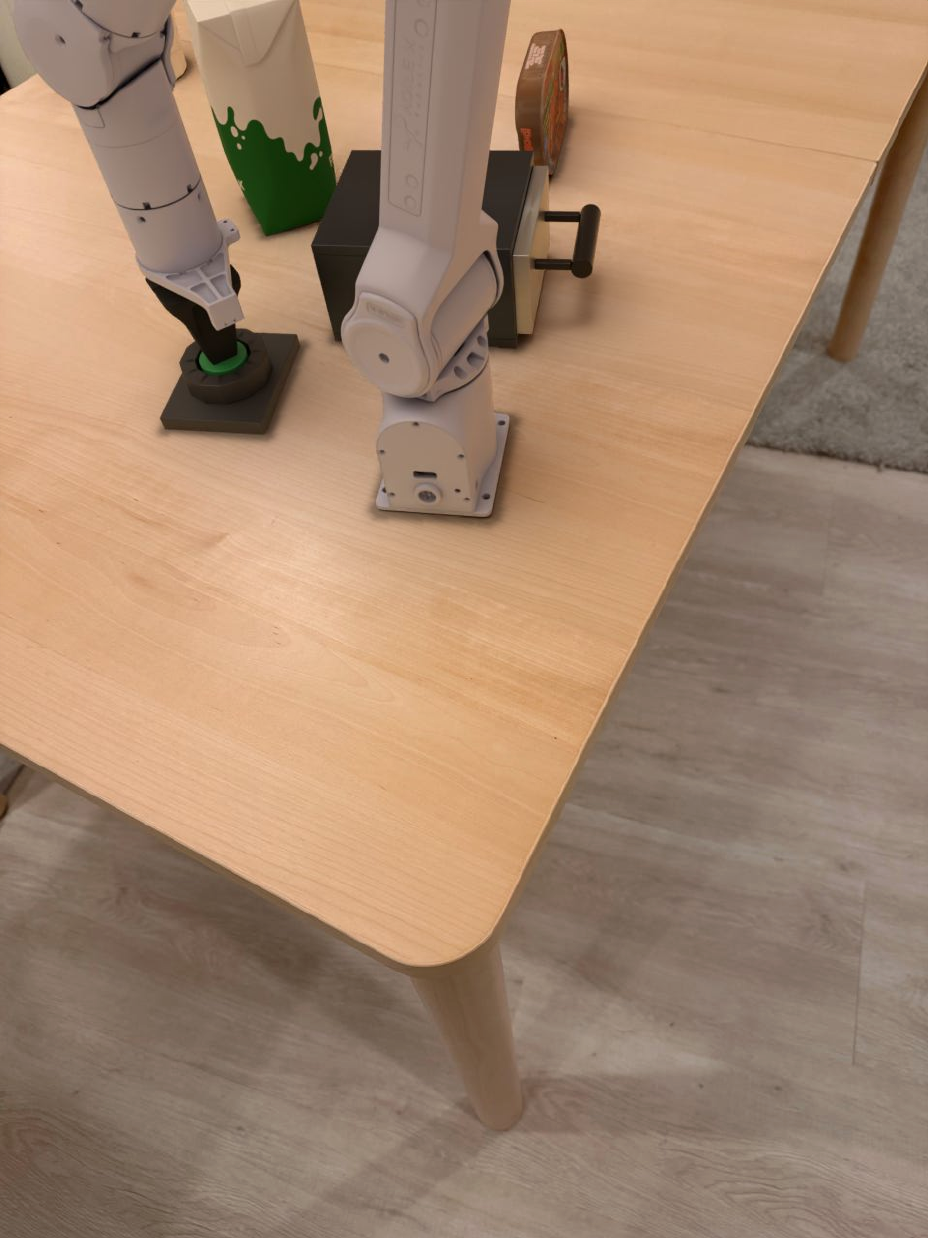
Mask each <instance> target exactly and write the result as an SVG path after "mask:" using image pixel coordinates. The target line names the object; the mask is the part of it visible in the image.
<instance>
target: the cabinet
mask: <svg viewBox="0 0 928 1238" xmlns="http://www.w3.org/2000/svg"><path fill="white" fill-rule="evenodd" d="M533 166H534V152H533V150H519V149H518V150H517V149H516V150H513V149H512V150H508V149H507V150H505V149H503V150H502V149H498V150H497V149H496V150H494V149H493V150H491V149H490V151H489V158H488V165H487V173H486V180H485V187H484V194H483V201H482V208H481V210H483V211H484V212H485V213H486V214H487V215H489V216H490V217H491V218H492V219H493V220H494V221H496V222H497V224H498V231H497V237H496V250H497V255H498V258H499V261H500V265H501V268H502V271H503V277H504V285H503V290H502V293H501V296H500V298H499V300H498V301H497V303H496V304H495V305H494V306H493V307H492V308H491V309H489V310H488V311H487V312H486V313H487V314H488V325H489V330H488V331H487V339H488V348H501V349H502V348H504V349H516V348H517V346H518V340H519V336H520V334H517V329H516V311H515V294H514V276H513V259H512V251H513V247H514V243H515V238H516V234H517V230H518V229H519V225H520V220H521V216H522V212H523V207H524V203H525V199H526V194H527V190H528V186H529V181H530V177H531V173H532V168H533ZM380 177H381V149H351V150H350V152H349V155H348V157H347V160H346V162H345V164H344V167H343V169H342V171H341V174H340V176H339V178H338V180H337V182H336V184H337V185H336V188H335V190H334V192H333V195H332V197H331V199H330V202H329V204H328V206H327V209H326V211H325V213H324V216H323V218H322V220H320V223H319V225H318V227H317V230H316V233H315V234H314V237H313V239H312V241H311V244H310V248H311V252H312V256H313V260H314V264H315V267H316V271H317V275H318V279H319V283H320V287H321V291H322V295H323V299H324V303H325V307H326V310H327V314H328V318H329V322H330V326H331V330H332V334H333V339H334V341H335V342H342V337H341V326H342V322H343V320H344V317H345V316H346V315H347V313H348V312H349V311H350V310H351V309H352V307H353V305H354V301H355V284H356V280H357V278H358V275H359V273H360V270H361V268H362V266H363V263H364V261H365V259H366V256H367V254H368V252H369V249H370V247H371V245H372V243H373V240H374V238H375V235H376V233H377V230H378V228H379V211H380Z"/></svg>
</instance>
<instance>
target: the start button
mask: <svg viewBox="0 0 928 1238" xmlns="http://www.w3.org/2000/svg"><path fill="white" fill-rule="evenodd" d="M237 349H238V352H237V355H236V356H234V357H232V358H229V359H227V360H225V361H223V362H221V363H219V364H216V365H213V364H212V363H211V362H210V361H209V360H208V359H207V357H206V356H205V354H204V353H203V352H202V353H201V355H200V358H199V363H200V365H201V368H202V370H203V372H204V373H205V374H207V375H224V374H228V373H231V372H234V371H236V370H237V369H239V368H240V367H241V366H243V365H244V364H245V363H246V362H247V361H248V359H249V356H248V353H247V351H246V348H245V347H244V345H243V344H241V343H240V342H238V341H237Z"/></svg>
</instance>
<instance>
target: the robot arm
mask: <svg viewBox="0 0 928 1238" xmlns="http://www.w3.org/2000/svg"><path fill="white" fill-rule="evenodd" d="M177 1H178V0H13V5H14V6H13V17H12V18H13V25H14V30H15V34H16V37H17V40H18V43H19V45H20V47H21V49H22V51H23V53H24V55H25V57H26V59H27V60H28V62H29V63H30V65H31V66H32V68H33V69H34V70H35V72H36V73H37V75H38V76H39V77H40V78H41V79H42V81H43V82H44V83H45V84H46V85H47V86H48V87H49V88H50V89H51V90H53V92H55V94H57V95H59V96H60V97H61V98H63V100H64V99H65V101H67V102H69V103H70V104H71V108H72V109H73V112H74V114H75V116H76V119H77V121H78V123H79V125H80V128H81V130H82V132H83V135H84V137H85V139H86V141H87V144H88V146H89V148H90V150H91V153H92V155H93V157H94V160H95V162H96V164H97V167H98V169H99V171H100V174H101V176H102V178H103V181H104V183H105V185H106V188H107V190H108V192H109V194H110V197H111V198H112V201H113V204H114V206H115V208H116V210H117V212H118V215H119V217H120V220H121V222H122V224H123V227H124V229H125V231H126V233H127V236H128V238H129V241H130V243H131V245H132V247H133V250H134V252H135V257H134V258H135V262H136V264H137V266H138V268H139V271H140V273H141V274H142V275H143V277H145V279H144V280H145V282H146V284H147V285H148V287H149V288H150V290H151V291H152V292H153V294H155V297H156V298H157V299H158V301H159V302H160V304H161V305H162V306H163V308H164V309H165V310H166V311H167V312H168V313H169V314H170V315H172V317H174V318H175V319H177V320H178V321H179V322H181V323H182V325H184V327H185V328H186V329H187V331H188V332H189V334H190V336H191V337H192V339H193V340H194V341H195V342H196V343H197V345H198V346H199V348H200V349H201V350H202V352H203V353H204V354H205V356H206V357H207V359H208V360H209V361H210V362H211V363H212V364H213V365H216V364H219V363H221V362H223V361H225V360H227V359H229V358H232V357H234V356H236V355H237V352H238V349H237V335H236V328H237V324H236V323H238V322H241V321H243V320H245V315H244V312H243V309H242V307H241V303H240V301H239V298H238V297H239V294H240V291H241V288H242V280H241V276H240V274H239V272H238V270H236V268H235V267H234V266H233V265H232V264H231V263H230V262H231V261H230V253H229V252H230V251H229V248H230V246H231V245H233V244H235V243H237V242H239V241H240V239H241V234H240V230H239V228H238V227H237V225H235V223H234V222H233V221H232V220H231V219H229V218H223V219H221V220H218V221H217V218H216V214H215V212H214V209H213V206H212V203H211V200H210V197H209V194H208V191H207V189H206V185H205V183H204V180H203V179H204V178H203V177H202V174H201V171H200V169H199V165H198V163H197V159H196V157H195V154H194V151H193V148H192V145H191V142H190V139H189V136H188V133H187V130H186V127H185V124H184V121H183V119H182V115H181V112H180V109H179V106H178V104H177V101H176V98H175V95H174V90H175V89H174V88H175V87H176V83H175V82H177V81H178V78H177V79H176V76H175V73H174V70H173V66H172V63H171V58H170V53H171V48H172V45H173V41H174V26H173V20H172V16H171V10H172V9H173V8H174V7H175V5H176V2H177ZM511 2H512V0H385V2H384V3H385V9H384V41H383V44H384V45H383V72H382V73H383V75H382V77H383V78H382V110H381V111H382V112H381V113H382V114H381V142H380V143H381V144H380V145H381V146H380V150H381V177H380V211H379V228H378V230H377V233H376V235H375V238H374V240H373V243H372V245H371V247H370V249H369V252H368V254H367V256H366V259H365V261H364V263H363V266H362V268H361V270H360V273H359V275H358V278H357V280H356V284H355V301H354V305H353V307H352V309H351V310H350V311H349V312H348V313H347V315H346V316H345V317H344V320H343V322H342V326H341V337H342V341H341V342H342V345H343V347H344V351H345V353H346V355H347V357H348V358H349V360H350V363H351V364H352V365H353V367H354V369H355V370H356V371H357V372H358V373H359V375H361V376H362V378H364V379H365V380H366V381H367V382H368V383H370V384H371V385H372V386H374V387H375V388H376V389H379V390H380V393H381V402H382V406H381V407H382V410H381V417H380V423H379V427H378V431H377V433H376V438H375V451H376V456H377V460H378V463H379V469H380V472H381V476H382V479H381V482H380V485H379V488H378V492H377V495H376V499H375V505H376V508H377V509H378V510H380V511H381V510H383V511H395V512H407V513H408V512H409V513H424V514H437V515H449V516H450V515H451V516H466V517H481V518H486V517H489V516H490V515H491V514H492V512H493V506H494V503H495V497H496V492H497V487H498V484H499V483H498V482H499V478H500V477H499V476H500V472H501V467H502V463H503V457H504V452H505V448H506V443H507V437H508V433H509V429H510V423H511V419H510V416H509V414H507V413H500V412H495V406H494V395H493V393H494V392H493V385H492V383H493V382H492V372H491V361H490V360H491V359H490V351H489V347H488V339H487V331H488V330H489V325H488V314H487V313H486V312H487V311H488V310H489V309H491V308H492V307H493V306H494V305H495V304H496V303H497V301H498V300H499V298H500V296H501V293H502V290H503V285H504V277H503V271H502V268H501V265H500V261H499V258H498V255H497V250H496V237H497V231H498V224H497V222H496V221H494V220H493V219H492V218H491V217H490V216H489V215H487V214H486V213H485V212H484V211H483V210H481V208H482V201H483V194H484V187H485V180H486V173H487V165H488V158H489V151H490V150H491V143H492V138H493V137H492V135H493V129H494V122H495V115H496V107H497V103H498V94H499V87H500V80H501V74H502V66H503V59H504V51H505V44H506V38H507V32H508V31H507V30H508V22H509V16H510V9H511Z"/></svg>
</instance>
